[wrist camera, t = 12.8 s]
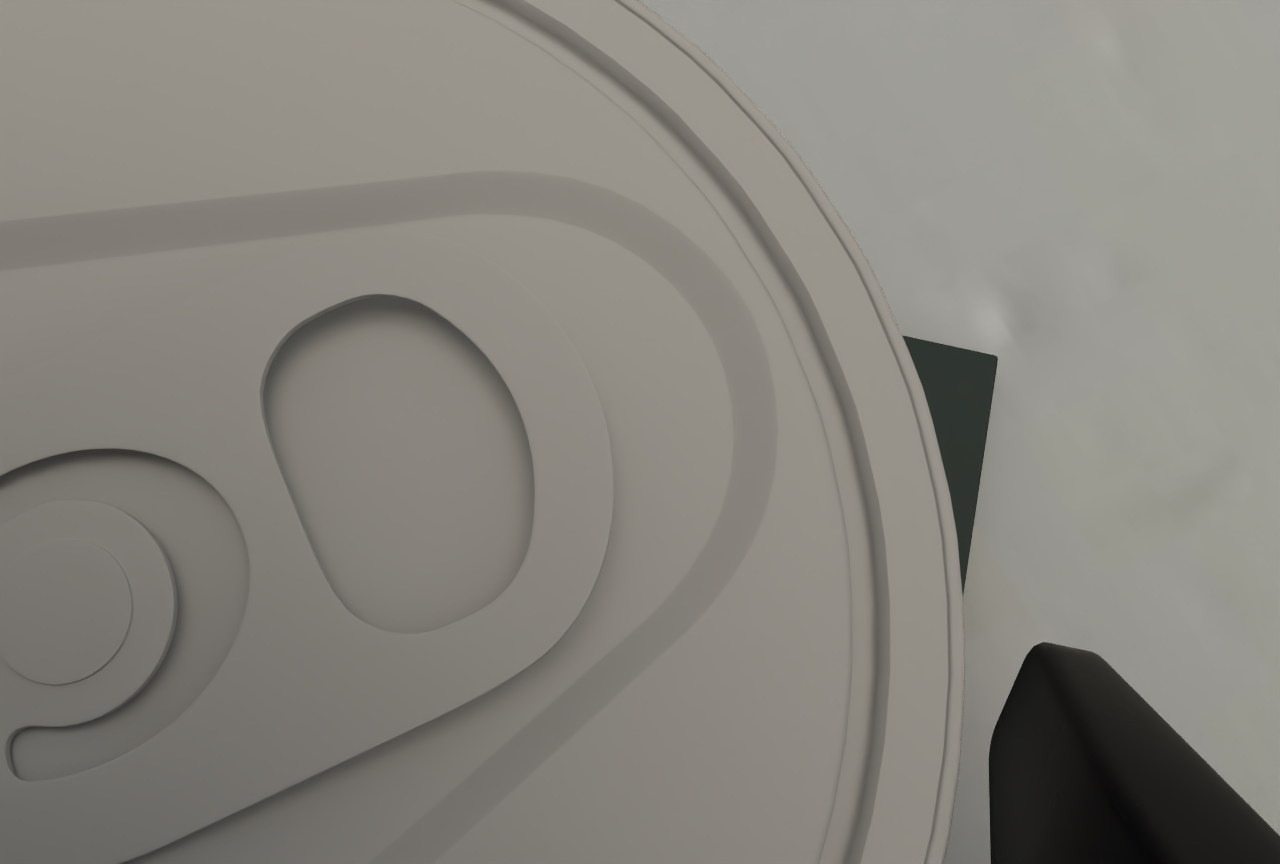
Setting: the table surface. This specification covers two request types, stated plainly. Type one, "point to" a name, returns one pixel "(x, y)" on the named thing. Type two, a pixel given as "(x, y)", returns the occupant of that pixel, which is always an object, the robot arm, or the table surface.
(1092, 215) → the table surface
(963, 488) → the mat
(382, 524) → the beverage can
